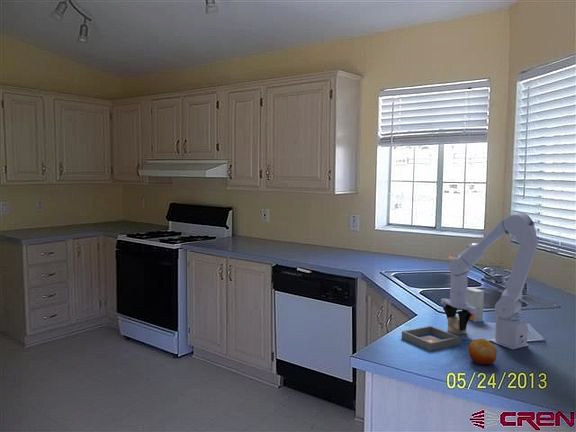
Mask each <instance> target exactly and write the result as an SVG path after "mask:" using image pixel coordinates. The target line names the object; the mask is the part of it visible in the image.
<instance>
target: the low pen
mask: <svg viewBox="0 0 576 432" xmlns="http://www.w3.org/2000/svg"><path fill="white" fill-rule="evenodd" d="M430 334H431V335H432V336H433V335H434V336H436V337H437V338H441V339H440V341H435V342H429V341H426V340H424V339H422V337H419V336H425V335H430ZM401 339H402V340H404V341H407V342H409V343H411V344H413V345H416V346H418V347H421V348H422V349H425V350H427V351H429V352H432V351H438V350H441V349H446V348H450V347H454V346H458V345H461V339H462V337H461V336H460V335H457V334H454V333H452V332H449V331H446V330H443V329H441V328H437V327H435V326H433V325H428V326H423V327H417V328H412V329H406V330H401Z"/></svg>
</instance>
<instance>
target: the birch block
mask: <svg viewBox="0 0 576 432" xmlns="http://www.w3.org/2000/svg"><path fill="white" fill-rule="evenodd" d="M467 326H468V325H467ZM467 326H466V329H465V330H463V331H461V330H460V321H459V315H456V316H454V317H449V318H448V319H447V332H449V333H451V334H454V335H456V336H459V335H462V333H463V334H465V333H464V332H466V333H467Z"/></svg>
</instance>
